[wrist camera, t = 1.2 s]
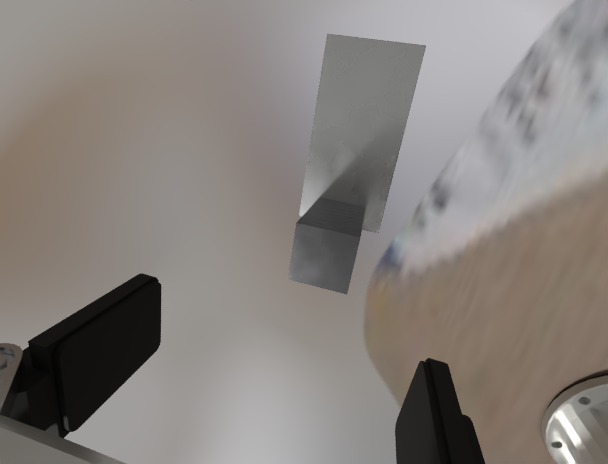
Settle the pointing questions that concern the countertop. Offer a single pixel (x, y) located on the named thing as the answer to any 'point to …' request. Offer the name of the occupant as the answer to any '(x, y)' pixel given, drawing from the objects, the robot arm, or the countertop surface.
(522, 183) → the countertop surface
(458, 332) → the countertop surface
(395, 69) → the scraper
